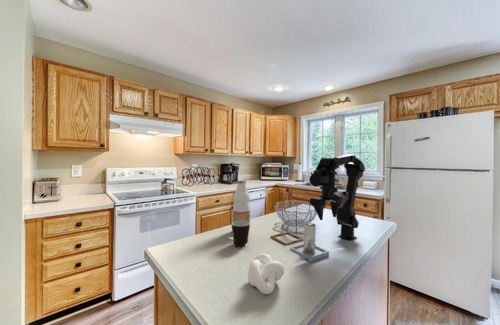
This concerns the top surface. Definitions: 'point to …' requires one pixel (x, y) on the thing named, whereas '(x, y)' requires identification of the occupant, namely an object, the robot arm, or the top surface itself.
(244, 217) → the fruit juice
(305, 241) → the scoop cup
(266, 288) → the white knot sculpture
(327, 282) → the top surface
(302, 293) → the top surface
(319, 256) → the grey tray
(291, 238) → the walnut tray
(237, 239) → the coffee mug
